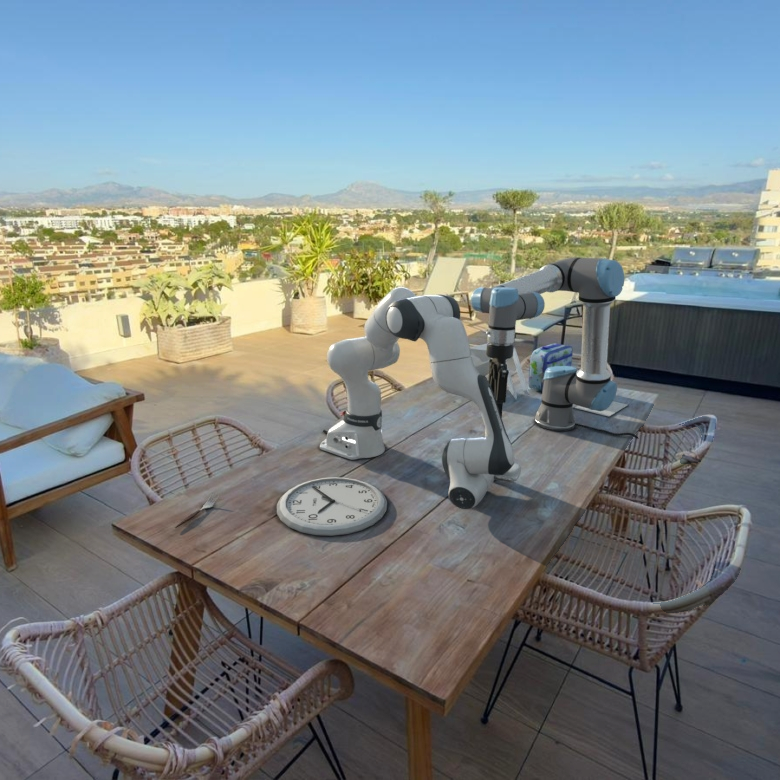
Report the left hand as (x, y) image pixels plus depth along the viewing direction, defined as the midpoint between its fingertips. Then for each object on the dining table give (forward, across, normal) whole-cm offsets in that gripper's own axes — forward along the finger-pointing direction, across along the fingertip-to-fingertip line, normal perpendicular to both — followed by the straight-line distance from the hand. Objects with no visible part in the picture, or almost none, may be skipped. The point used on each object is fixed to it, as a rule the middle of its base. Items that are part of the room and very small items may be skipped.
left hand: (491, 456), depth 160 cm
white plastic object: (+82, +27, +7) cm, 86 cm away
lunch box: (+105, 0, +7) cm, 105 cm away
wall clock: (-38, +34, +7) cm, 51 cm away
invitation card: (+87, -26, +7) cm, 91 cm away
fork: (-58, +63, +7) cm, 86 cm away
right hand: (-1, 0, -12) cm, 12 cm away
